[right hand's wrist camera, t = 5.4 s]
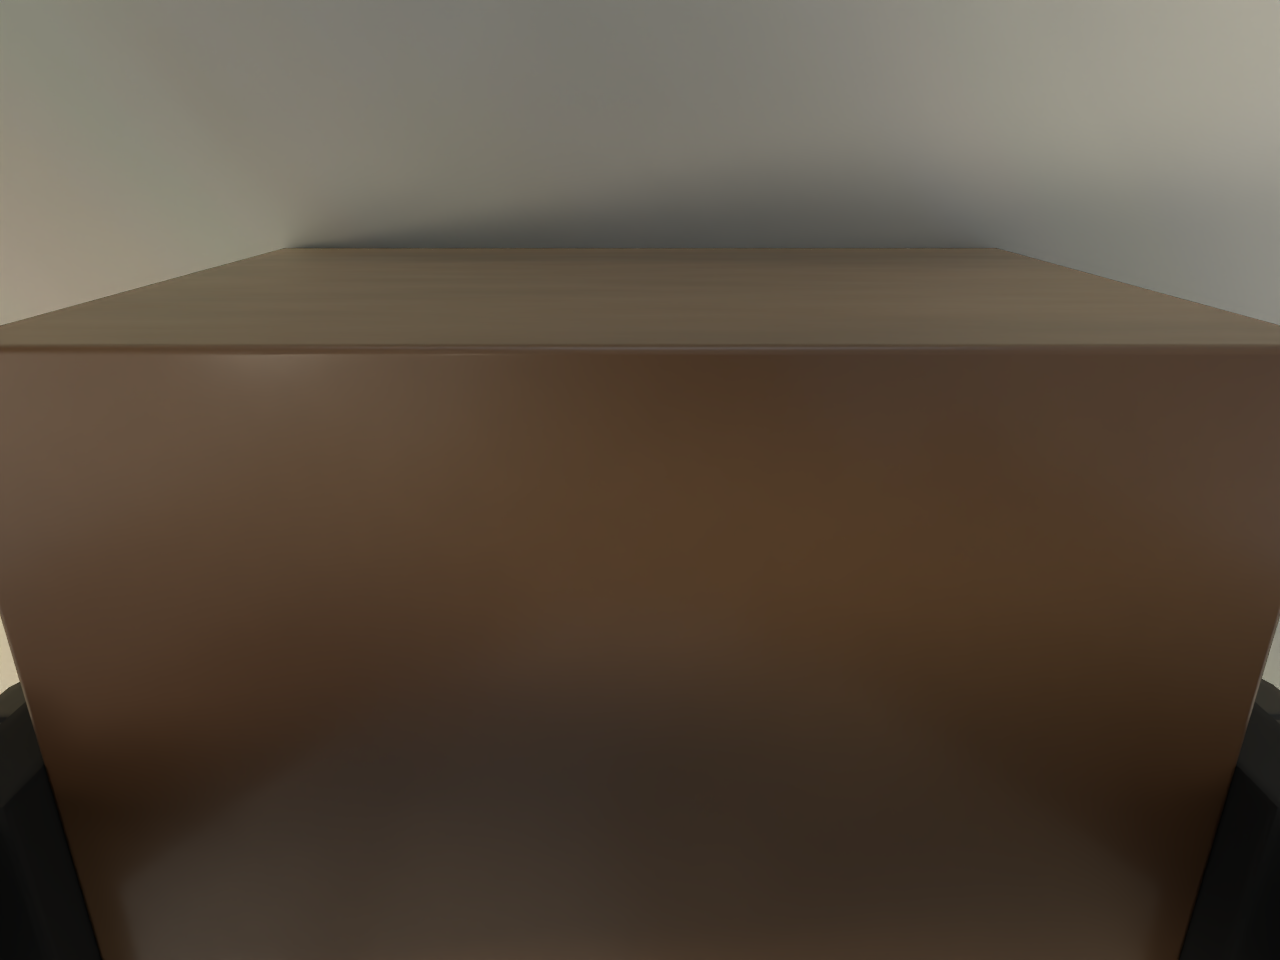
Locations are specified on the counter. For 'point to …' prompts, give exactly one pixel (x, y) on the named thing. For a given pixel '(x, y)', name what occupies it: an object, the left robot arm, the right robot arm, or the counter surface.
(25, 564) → the wide beam
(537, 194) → the counter surface
